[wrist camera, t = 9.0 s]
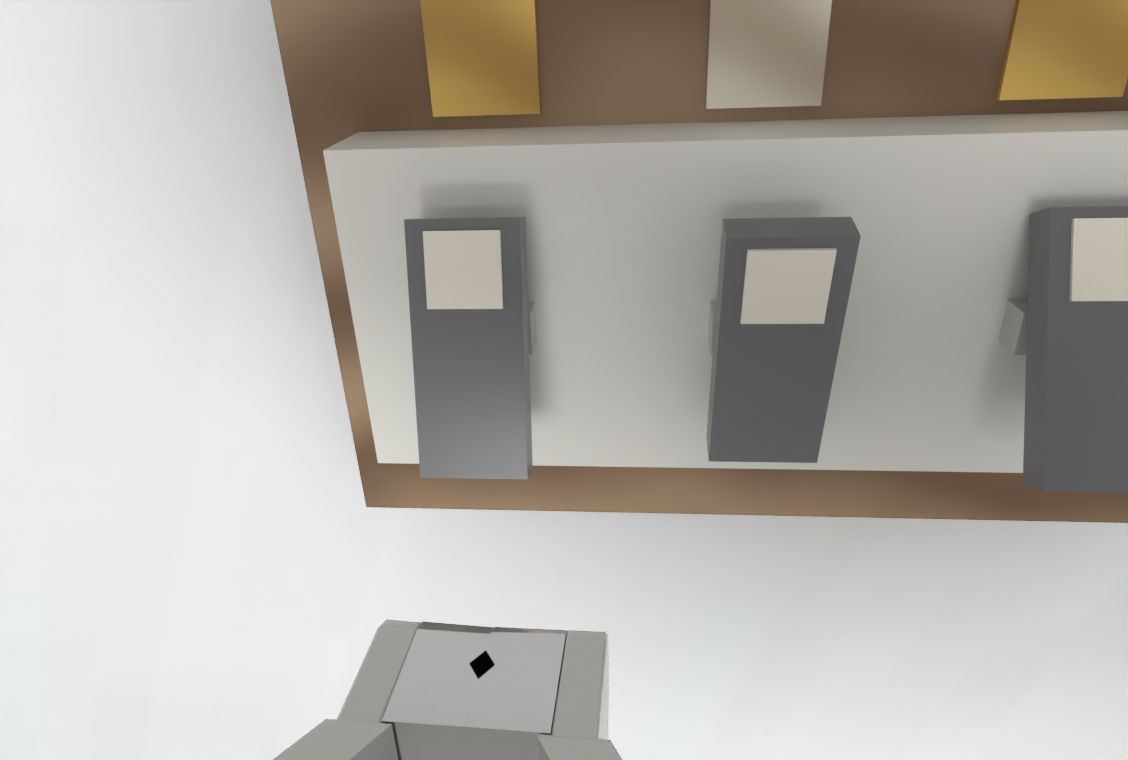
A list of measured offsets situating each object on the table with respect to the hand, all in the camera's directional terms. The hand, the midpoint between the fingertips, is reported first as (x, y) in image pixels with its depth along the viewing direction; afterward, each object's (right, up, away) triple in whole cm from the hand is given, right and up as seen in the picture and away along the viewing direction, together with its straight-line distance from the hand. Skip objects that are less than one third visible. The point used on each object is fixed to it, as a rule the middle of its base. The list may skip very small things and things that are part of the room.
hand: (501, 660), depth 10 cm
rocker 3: (+14, +4, +9) cm, 17 cm away
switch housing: (+7, +7, +14) cm, 17 cm away
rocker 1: (-2, +5, +11) cm, 12 cm away
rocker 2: (+6, +4, +10) cm, 12 cm away
